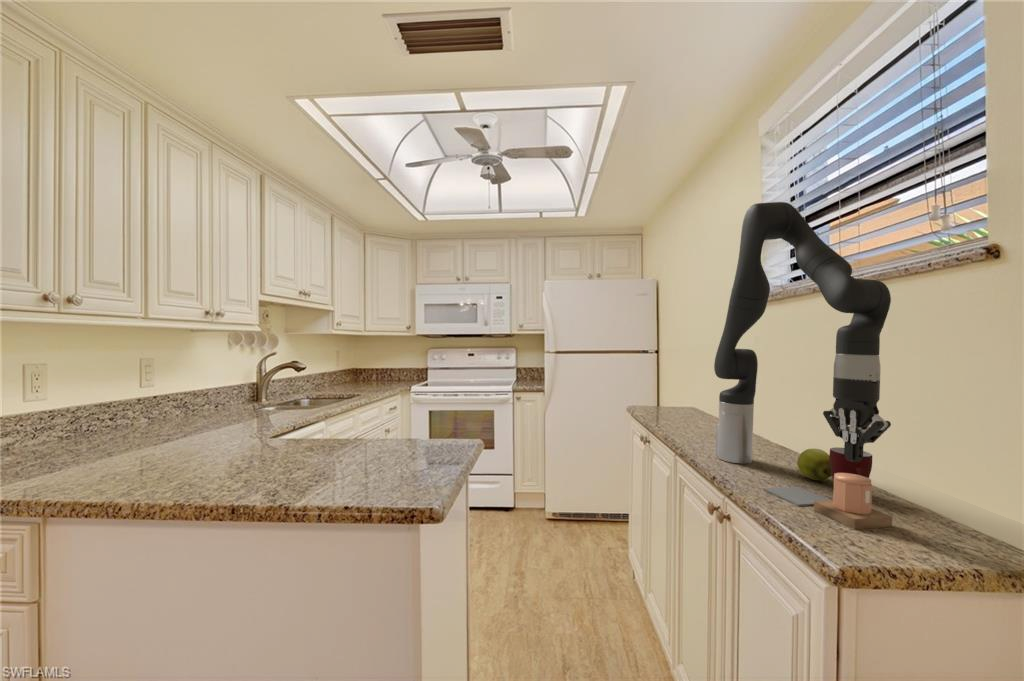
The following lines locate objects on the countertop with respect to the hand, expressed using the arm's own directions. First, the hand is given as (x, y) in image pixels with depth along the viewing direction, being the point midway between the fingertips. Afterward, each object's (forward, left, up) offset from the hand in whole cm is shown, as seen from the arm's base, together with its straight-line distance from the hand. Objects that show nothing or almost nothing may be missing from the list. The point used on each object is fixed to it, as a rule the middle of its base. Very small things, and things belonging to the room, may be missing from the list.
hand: (853, 461), depth 89 cm
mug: (-11, +13, -12) cm, 21 cm away
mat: (-12, -1, -12) cm, 17 cm away
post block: (0, 0, -12) cm, 12 cm away
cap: (0, 0, -10) cm, 10 cm away
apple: (-22, +14, -12) cm, 29 cm away
